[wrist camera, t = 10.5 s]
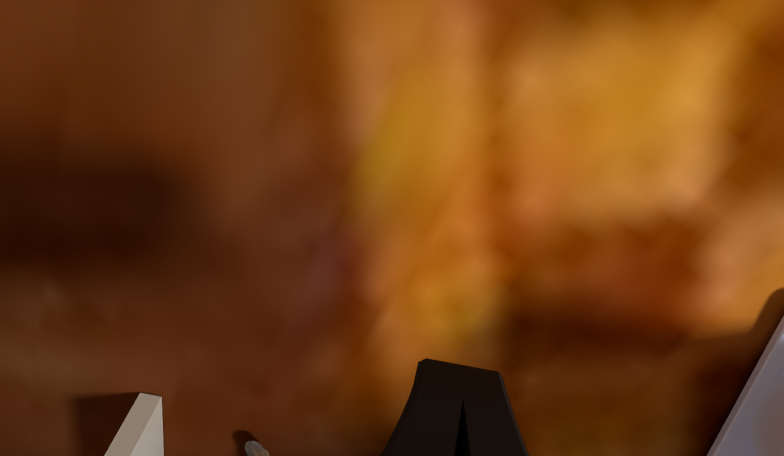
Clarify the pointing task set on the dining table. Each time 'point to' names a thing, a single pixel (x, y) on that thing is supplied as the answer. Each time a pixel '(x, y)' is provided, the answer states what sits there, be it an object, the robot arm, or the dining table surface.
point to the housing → (140, 429)
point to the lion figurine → (255, 449)
